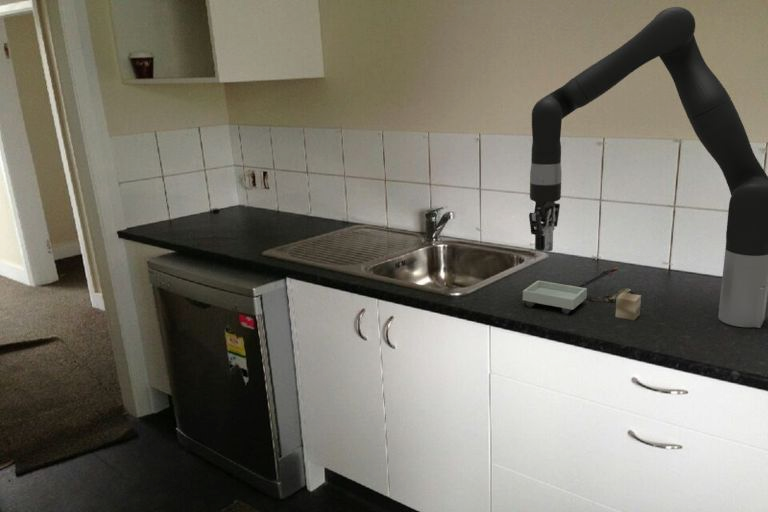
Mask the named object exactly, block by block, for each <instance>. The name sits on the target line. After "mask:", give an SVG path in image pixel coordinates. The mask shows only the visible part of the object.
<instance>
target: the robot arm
mask: <svg viewBox="0 0 768 512" xmlns="http://www.w3.org/2000/svg"><path fill="white" fill-rule="evenodd" d="M695 31H696V18H695V16H694V15H693V13H692V12H690V10H688V9H686V8H684V7H681V6H670V7H668V8H665V9H663V10H661V11H660V12H658V13H657V14H655V17H654V18H653V19H652V20H650V22H649V23H647V24H646V26H644V27H643V28H642V29H641V30H640V31H639V32H638V33H637V34H636V35H634V36H633V37H632V38H630V39H629V40H627V42H625V43H624V44H623V45H621V46H619V47H618V48H617V49H615V50H613V51H612V52H611V53H609V54H607V55H606V56H604V57H603V58H601V59H600V60H598V61H596V62H595V63H593V64H592V65H589V66H588V67H587V68H586V69H584V70H583V71H582V72H579V74H577V75H575V76H574V77H572V78H571V79H569V81H567V82H566V83H565V84H564V85H562V86H561V87H559V88H557V89H555V90H554V91H552V92H550V93H549V94H546V95H545V96H544V97H542V98H541V99H539V100H538V101H537V102H536V103H534V106H533V108H532V110H531V134H532V135H531V136H532V144H531V157H530V158H531V164H530V170H529V171H530V172H529V199H530V200H531V201H532V202H535V206H534V209H533V210H534V211H533V212H529V215H528V218H529V220H528V221H529V227H530V234H531V235H534V236H535V235H536V239H535V238H534V249H535V248H536V249H537V250H544V249H545V231H546V227H547V226H548V225H552V226H553V232H554V231H555V227H558V222H559V216H560V215H559V214H560V207H561V205H560V204H561V203H557V202H558V201H560V200H561V198H562V197H561V196H562V163H561V162H562V144H561V134H562V123H563V122H562V121H563V119H564V118H567V116H568V115H571V113H574V112H575V111H576V110H578V109H580V108H583V107H585V106H587V105H588V104H590V103H591V102H593V101H594V100H596V99H598V98H599V97H601V96H603V95H604V94H605V93H607V92H608V91H609V90H611V89H613V88H614V87H615V86H616V85H617V84H619V83H620V82H621V81H623V80H624V79H625V78H627V77H628V76H629V75H631V74H632V73H634V71H636V70H638V69H639V68H641V67H642V66H643V65H645V64H647V63H649V62H650V61H652V60H654V59H656V58H659V59H660V60H661V62H662V64H663V65H664V67H665V68H666V70H667V71H668V72H669V75H670V77H671V78H672V80H673V83H674V85H675V88H676V92H677V94H678V97H679V100H680V102H681V105H682V107H683V109H684V112H685V114H686V116H687V118H688V122H689V123H690V125H691V127H692V129H693V131H694V133H695V135H696V136H697V138H698V140H699V142H700V143H701V144H702V145H703V147H704V148H705V150H706V151H707V152H708V154H710V156H711V157H712V159H713V160H714V161H715V162H716V164H717V165H718V166H719V168H720V170H721V172H722V175H723V177H724V179H725V181H726V184H727V187H728V189H729V193H730V198H729V203H728V211H727V212H728V213H727V220H726V221H727V222H726V231H725V233H726V234H725V249H724V250H725V251H724V259H723V269H722V276H721V277H722V278H721V285H720V286H721V288H720V294H719V295H720V296H719V306H718V317H717V318H718V320H719V321H721V322H722V323H724V324H727V325H730V326H734V327H740V328H758V329H761V327H762V326H763V323H764V321H765V318H766V317H765V316H766V309H767V301H768V174H767V173H766V172H765V170H764V168H763V167H762V165H761V163H760V162H759V161H758V159H757V157H756V155H755V152H754V150H753V148H752V146H751V142H750V140H749V136H748V134H747V131H746V129H745V126H744V124H743V122H742V119H741V117H740V114H739V113H738V110H737V108H736V107H735V104H734V102H733V99H732V98H731V97H730V94H729V93H728V92H727V90H726V88H725V87H724V85H723V84H722V83H721V80H719V78H718V77H717V76H716V74H715V73H714V72H713V71H712V70H711V68H710V67H709V66H708V65H707V63H706V61H705V59H704V58H703V55H702V53H701V50H700V48H699V46H698V43H697V39H696V37H695ZM537 250H536V251H537Z"/></svg>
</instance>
